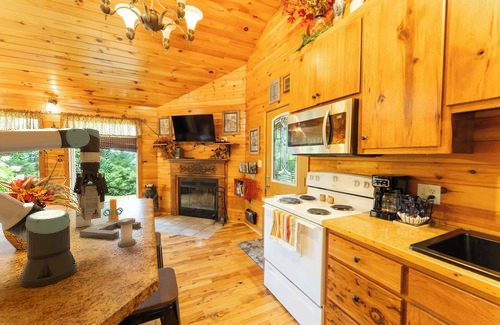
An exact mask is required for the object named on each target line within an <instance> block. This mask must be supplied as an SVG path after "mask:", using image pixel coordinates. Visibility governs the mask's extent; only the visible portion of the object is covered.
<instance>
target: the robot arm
mask: <svg viewBox="0 0 500 325" xmlns="http://www.w3.org/2000/svg"><path fill="white" fill-rule="evenodd" d="M100 143H101V138H100V131H99V130H98V128H97V129H96V128H92V127H91V128H89V127H83V128H81V127H71V128H43V129H42V128H41V129H40V128H39V129H33V128H32V129H31V128H30V129H0V155H2V154H13V153H14V154H15V153H24V152H25V153H26V152H35V151H36V152H38V151H47V150H58V149H60V150H61V149H79V161H80V163H79V165H80V167H79V168H80V171H82V172H76V175H75V176H76V179H75V182H74V187H73V190H72V191H73V192H72V193H74V194H76V195H77V196H76V197H77V199H76V200H77V206H78V208H81V184H87V183H93V184H94V185H96V190H97V192H98V196H97V205H98V210H99V209H101V210H102V209H105V201H106V199H105V197H106V196H105V195H107V194H109V189H108V188H109V187H108V184H107V182H106V181H107V180H106V177H105V176H106V175H105V174H106V173H105V172H99V170H101V163H100V161H101V156H100V155H101V152H100V151H101V150H100V148H101V146H100V145H101V144H100ZM98 184H100V186H98ZM0 224H1V229H2V230H3V231H5V232H7V233H9V234H12V235H14V236H17V237H18V238H20V239H22V240H24V241H25V242H26V257H27V259H26V262H25V265H24V268H23V271H22V273H21V276H20V286H21V287H23V288H27V289H28V288H29V289H30V288H39V287H44V286H48V285H52V284H55V283H57V282H60V281H62V280H64V279H66V278H68V277H71V276H72V275H73V274H75V272H76V271H77V268H78V267H77V261H76V260H75V257H74V255H73V253H72V250H71V225H70V224H71V218H70V214H69V212H67V211H66V210H63V209H45V208H43V207H42V206H40V205H38V204H35V203H33V202H22V201H20V200H18V198H17V199H16V198H15V197H13V196H11V195H9V194H8V193H5V192H4V191H2V190H0Z"/></svg>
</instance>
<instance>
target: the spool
mask: <svg viewBox="0 0 500 325" xmlns="http://www.w3.org/2000/svg"><path fill="white" fill-rule="evenodd" d="M135 222H136V218H134V217H128V218H127V217H125V218H122V219H119V220H118V221H117V224H118V225H121V228H120V240H119V241H118V242H117V247H119V248H127V247H131V246H133V245H135V244H136V243H137V240H136V239H135V238H133V229H132V223H135Z"/></svg>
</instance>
